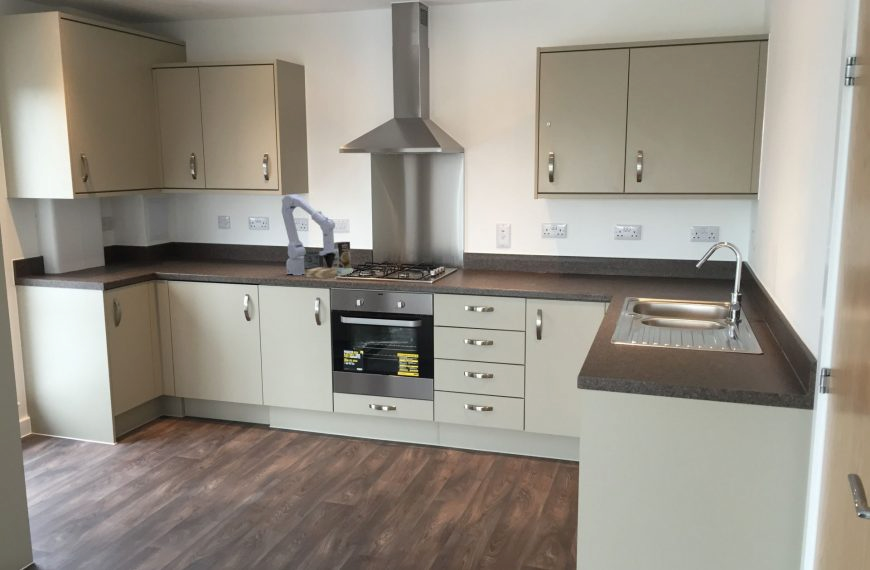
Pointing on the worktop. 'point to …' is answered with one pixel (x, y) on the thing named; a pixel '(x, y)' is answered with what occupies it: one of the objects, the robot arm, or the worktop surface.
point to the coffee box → (342, 255)
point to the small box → (313, 260)
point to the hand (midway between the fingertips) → (329, 267)
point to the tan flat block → (321, 272)
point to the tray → (345, 271)
